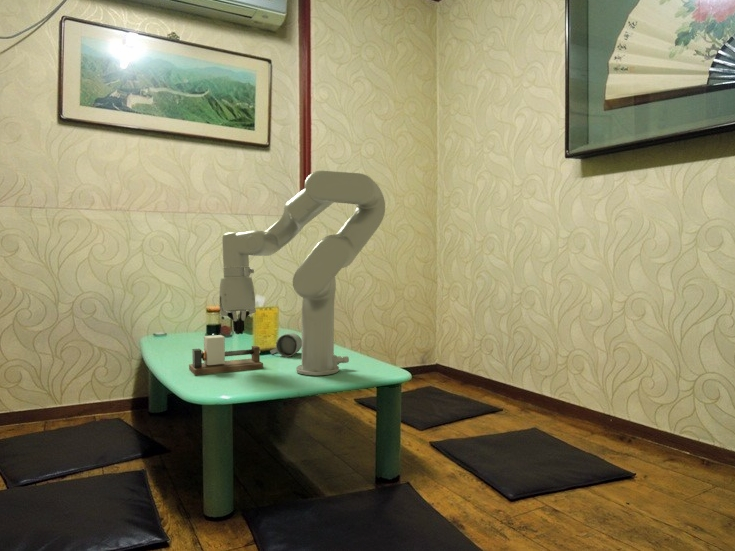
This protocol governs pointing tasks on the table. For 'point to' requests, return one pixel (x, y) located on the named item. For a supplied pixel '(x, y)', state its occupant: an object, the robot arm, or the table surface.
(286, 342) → the ceramic mug
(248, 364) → the board
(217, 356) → the sleeve
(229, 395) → the table surface
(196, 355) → the rod
